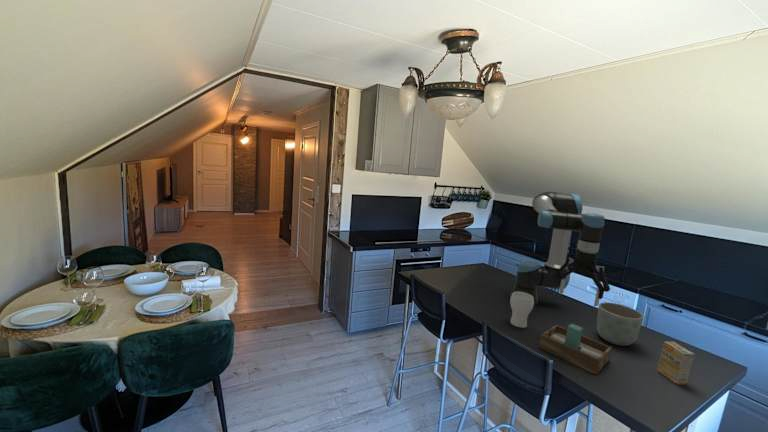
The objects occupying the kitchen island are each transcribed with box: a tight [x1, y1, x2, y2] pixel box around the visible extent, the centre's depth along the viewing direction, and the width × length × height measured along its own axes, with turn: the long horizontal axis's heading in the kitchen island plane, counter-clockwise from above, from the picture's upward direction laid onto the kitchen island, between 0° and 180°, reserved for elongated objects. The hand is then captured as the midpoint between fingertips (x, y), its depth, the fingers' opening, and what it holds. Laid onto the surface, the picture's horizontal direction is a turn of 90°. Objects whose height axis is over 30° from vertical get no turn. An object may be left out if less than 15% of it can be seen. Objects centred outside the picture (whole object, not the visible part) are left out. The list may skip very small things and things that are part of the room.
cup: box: [509, 292, 535, 329], centre depth 160 cm, size 11×11×15 cm
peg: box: [565, 323, 584, 350], centre depth 137 cm, size 4×4×12 cm
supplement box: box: [656, 341, 695, 385], centre depth 125 cm, size 8×5×13 cm, turn 5°
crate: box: [538, 324, 613, 375], centre depth 138 cm, size 16×22×6 cm
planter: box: [596, 301, 645, 347], centre depth 151 cm, size 17×17×15 cm
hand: (577, 299), depth 138 cm, fingers open, 13 cm apart
